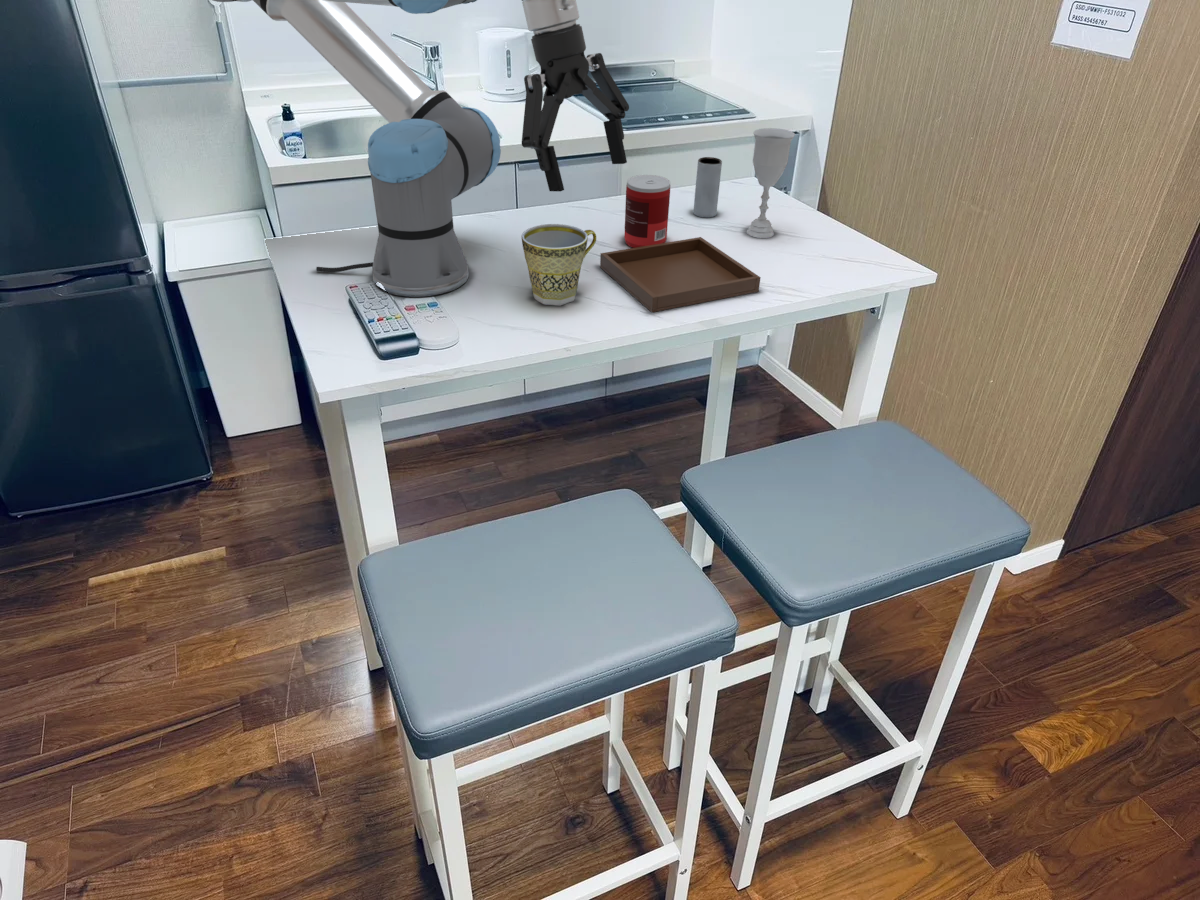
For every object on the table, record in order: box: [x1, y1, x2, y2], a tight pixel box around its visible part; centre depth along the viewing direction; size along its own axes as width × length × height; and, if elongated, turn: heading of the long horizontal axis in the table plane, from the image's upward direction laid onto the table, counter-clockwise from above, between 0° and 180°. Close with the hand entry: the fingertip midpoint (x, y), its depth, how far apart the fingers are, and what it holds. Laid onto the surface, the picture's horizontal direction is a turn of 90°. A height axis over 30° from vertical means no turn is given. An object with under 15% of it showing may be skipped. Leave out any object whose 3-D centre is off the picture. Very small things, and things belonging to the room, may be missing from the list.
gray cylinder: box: [692, 156, 723, 218], centre depth 161 cm, size 4×4×10 cm
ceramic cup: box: [521, 223, 597, 306], centre depth 130 cm, size 13×10×10 cm
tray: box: [599, 236, 761, 313], centre depth 138 cm, size 20×19×2 cm
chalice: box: [746, 127, 796, 239], centre depth 151 cm, size 7×7×18 cm
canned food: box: [623, 174, 671, 248], centre depth 148 cm, size 8×8×11 cm
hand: (589, 176), depth 130 cm, fingers open, 13 cm apart
